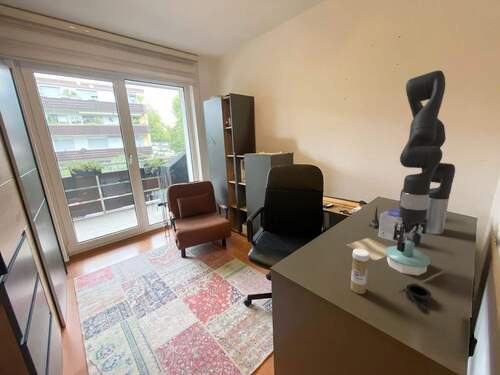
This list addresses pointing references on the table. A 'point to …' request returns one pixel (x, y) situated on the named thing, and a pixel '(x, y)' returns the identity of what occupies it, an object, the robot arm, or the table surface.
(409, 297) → the duct tape
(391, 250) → the lid
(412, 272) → the bowl
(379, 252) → the mat
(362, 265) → the sprinkles bottle
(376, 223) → the eiffel tower figurine
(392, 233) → the ink cartridge box
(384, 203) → the table surface
